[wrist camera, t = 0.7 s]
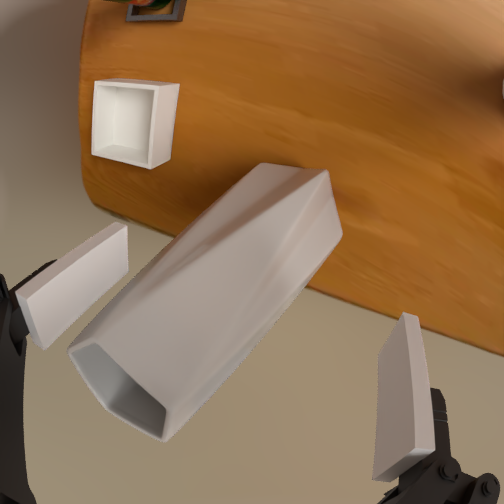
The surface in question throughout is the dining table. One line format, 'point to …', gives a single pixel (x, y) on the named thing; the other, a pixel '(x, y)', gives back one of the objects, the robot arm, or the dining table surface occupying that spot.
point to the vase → (208, 298)
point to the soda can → (145, 3)
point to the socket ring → (176, 16)
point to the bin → (134, 120)
